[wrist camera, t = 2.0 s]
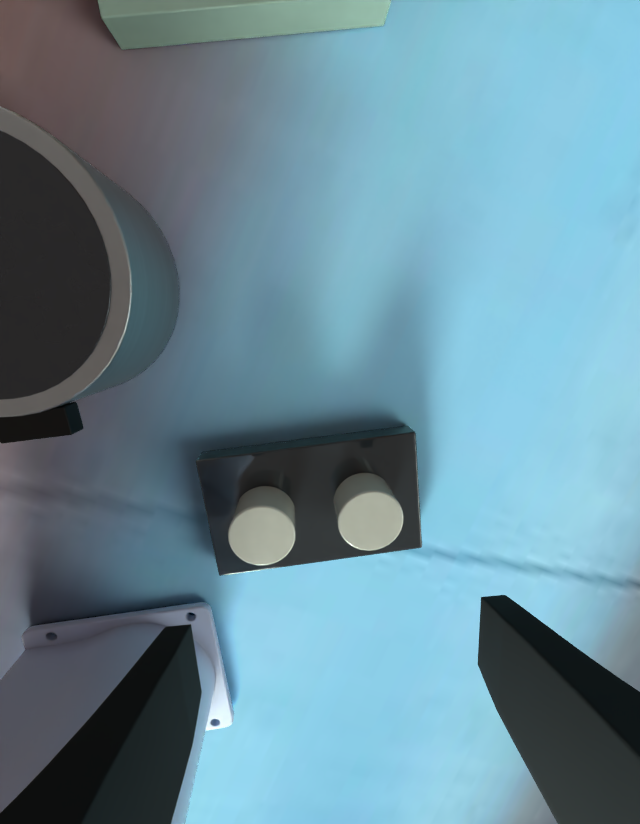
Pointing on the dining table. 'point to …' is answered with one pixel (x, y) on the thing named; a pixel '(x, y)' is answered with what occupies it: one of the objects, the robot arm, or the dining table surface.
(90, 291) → the steel pot
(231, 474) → the sushi plate
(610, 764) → the robot arm
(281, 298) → the dining table surface
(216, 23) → the green box
